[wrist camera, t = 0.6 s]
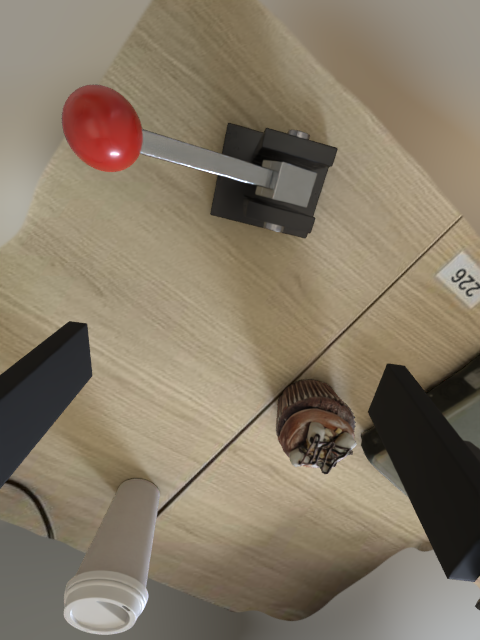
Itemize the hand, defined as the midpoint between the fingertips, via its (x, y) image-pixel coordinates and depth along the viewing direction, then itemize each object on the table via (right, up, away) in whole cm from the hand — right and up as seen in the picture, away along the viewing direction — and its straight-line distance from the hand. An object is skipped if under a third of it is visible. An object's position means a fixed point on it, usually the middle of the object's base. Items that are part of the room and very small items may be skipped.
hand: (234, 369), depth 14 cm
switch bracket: (+3, +16, +17) cm, 23 cm away
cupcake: (+9, -9, +28) cm, 31 cm away
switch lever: (-3, +12, +5) cm, 13 cm away
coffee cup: (-16, -25, +34) cm, 45 cm away
